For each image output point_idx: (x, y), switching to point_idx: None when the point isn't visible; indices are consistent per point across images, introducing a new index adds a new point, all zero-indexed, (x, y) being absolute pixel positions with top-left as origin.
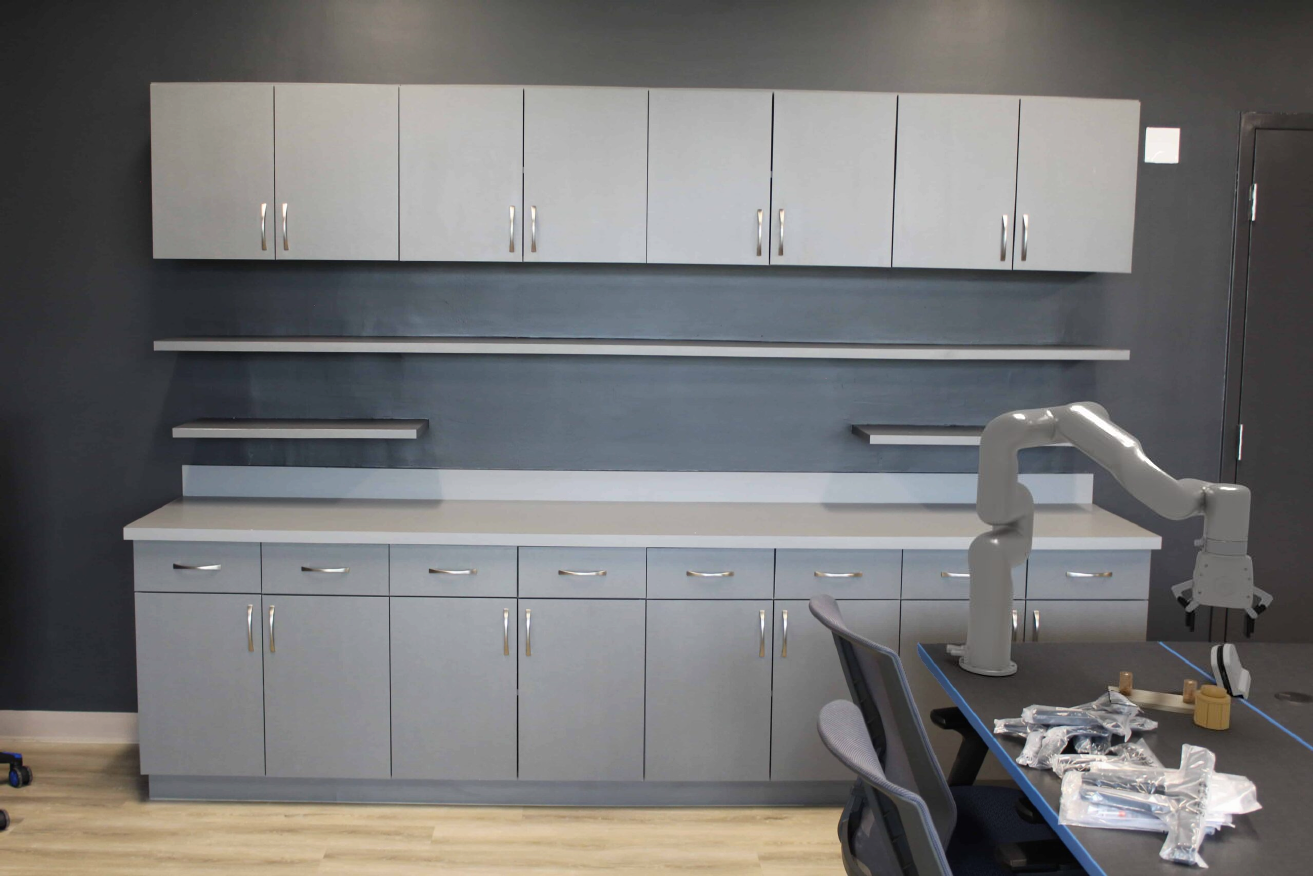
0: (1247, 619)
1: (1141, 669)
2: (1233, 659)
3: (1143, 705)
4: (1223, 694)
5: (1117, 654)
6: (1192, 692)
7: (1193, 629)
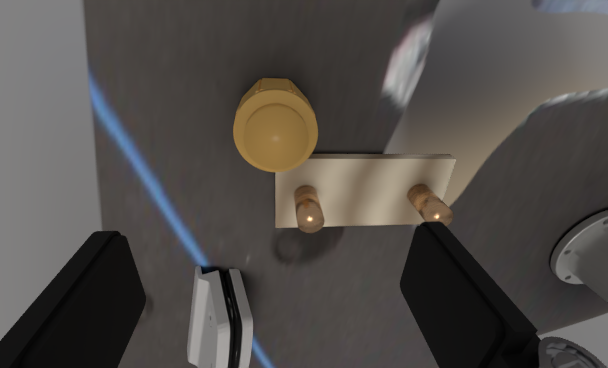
0: (31, 358)
1: (344, 325)
2: (209, 358)
3: (394, 156)
4: (253, 114)
5: (365, 361)
6: (305, 199)
7: (429, 231)
